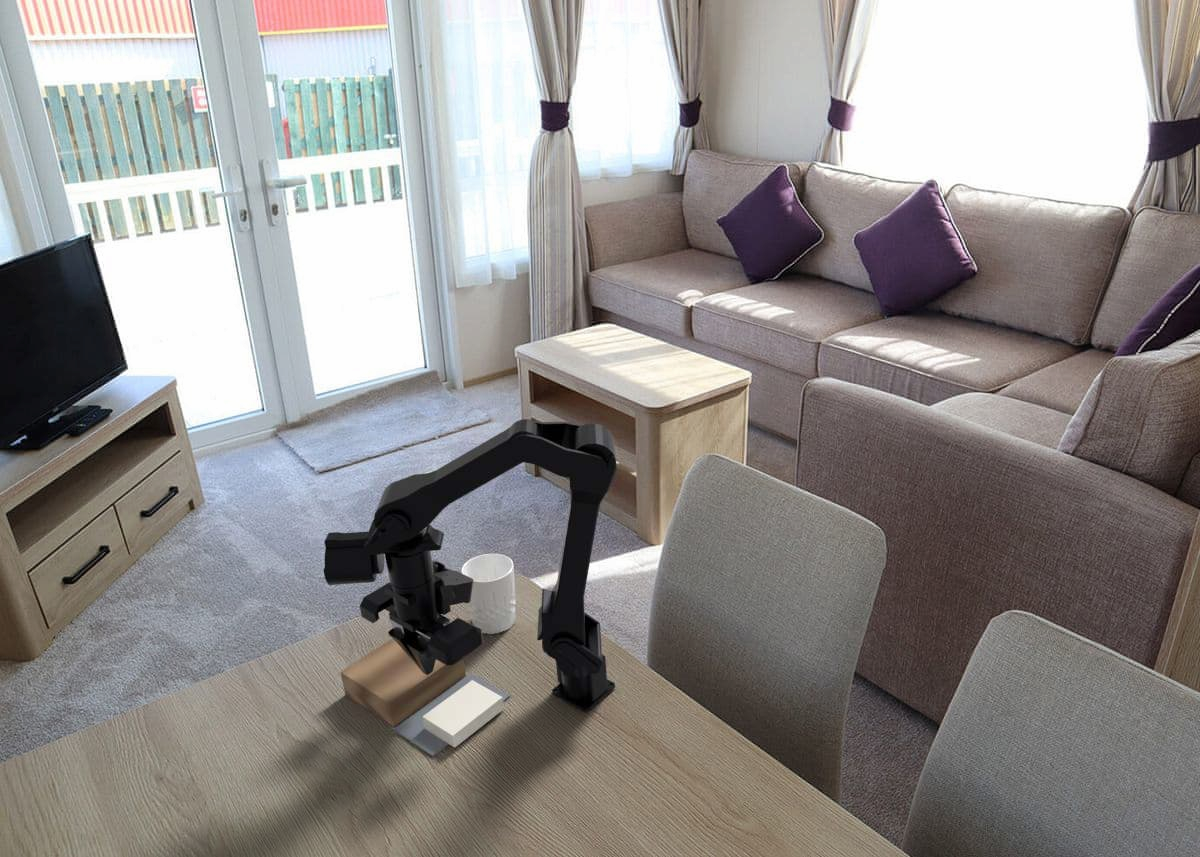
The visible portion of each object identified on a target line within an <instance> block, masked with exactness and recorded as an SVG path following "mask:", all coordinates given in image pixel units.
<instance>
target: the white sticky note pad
mask: <svg viewBox="0 0 1200 857" xmlns="http://www.w3.org/2000/svg"><path fill="white" fill-rule="evenodd" d="M504 709H505V705H504V702H503V697H501V696H500V695H498V694H496V693H494V692H493V691H491V690H489V689H487V688H486V687H484V686H482V685H480V684H478V683H477V682H475V681H473V680H472V681H470V682H469V683H467V684H466V685H465V686H463V687H462V688H461V689H459V690H458V691H457V692H455V693H454V694H452V695H451V696H450V697H448V698H447V699H446V700H444V701H443V702H442V703H440V704H439V705H437V706H436V707H435V708H433V709H432V710H431V711H429V712H428V713H427V714H425V715H424V716H422V717H423V723H424V728H425V729H426V730H428V731H429V732H431V733H433V734H434V735H436V736H437V737H439V738H440V739H442V740H443V741H445V742H447V743H448V744H449V745H450V746H451V747H452V748H456V747H458V746H459V745H460V744H461V743H463V742H464V741H465V740H466V739H467V738H469V737H470V736H471V735H473V734H474V733H475V732H476V731H479V729H481V728H482V727H483V726H485V724H486V723H488V722H489V721H490V720H492V719H493V718H495V717H496V716H497V715H498V714H499V713H501V712H502V711H503V710H504Z"/></svg>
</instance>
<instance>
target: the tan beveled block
mask: <svg viewBox="0 0 1200 857" xmlns="http://www.w3.org/2000/svg"><path fill="white" fill-rule="evenodd" d="M464 660H465V659H464V658H462V659H461V660H459V661H458V662H457V663H455V664H454V665H445V664H443V663H442V662H440V661H438V660H436V661H435V665H434V669H433V672H431V673H430V674H429V675H426V674H424V673H423V672H422V671H421V670H420V669H419V667H418V666H417V665H416V664H415V663H414V661H413V660H412V659H411V658H410V657H409V656H408V655H407V653H406V652H405V651H404V650H403V649H402V648H401V647H400V646H399V644H398V643H397V642H396V641H395V640H394V639H393V638H391V639H390V640H388V641H386V642H385V643H383V644H382V645H380V646H378V647H377V648H375V649H374V650H372V651H370V652H369V653H367V654H366V655H364V656H363V657H361V658H360V659H358V660H357V661H355V662H353V663H352V664H350V665H349V666H347V667H345V668H344V669H342V670H341V671H340V676H341V681H342V685H343V690H344V695H345V696H347V697H349V698H350V699H351V700H353V701H355V702H356V703H357V704H359V705H361V706H362V707H363V708H365V709H367V710H368V711H370V712H371V713H372V714H374V715H376V716H377V717H378V718H380V719H381V720H383V721H385V722H386V723H387V724H389V725H391V726H392V727H393V728H395V727H397V726H398V725H399V724H401V723H402V722H404V721H405V720H406V719H408V718H409V717H411V716H412V715H413V714H415V713H416V712H418V711H419V710H420V709H422V708H423V707H424V706H426V705H427V704H429V703H430V702H431V701H433V700H434V699H436V698H437V697H438V696H440V695H441V694H442V693H444V692H445V691H447V690H448V689H449V688H451V687H452V686H454V685H455V684H456V683H458V682H459V681H460V680H462V679H463V678H465V677H466V676H467V674H466V666H465V661H464Z"/></svg>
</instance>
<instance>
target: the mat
mask: <svg viewBox="0 0 1200 857" xmlns="http://www.w3.org/2000/svg"><path fill="white" fill-rule="evenodd" d="M472 680H473V681H475V682H477V683H478V684H480V685H482V686H484V687H486V688H487V689H489V690H491V691H493V692H494V693H496V694H498V695H500V696H501V697H503V703H505V702H506V701H507V700H508V699H509V698H511V695H510V694H509V693H507V692H505V691H503V690H502V689H500V688H499V687H496V686H494V685H493V684H490V683H489V682H488V681H485V680H483V679H482V678H480V677H479V676H477V675H475V674H473V673H472V672H471V673H469V674H466V676H464V677H463V678H462V679H460V680H459V681H457V682H456V683H455V684H453V685H452V686H450V687H449V688H448V689H446V690H445V691H444V692H442V693H441V694H439V695H438V696H437V697H435V698H434V699H432V700H431V701H430V702H428V703H427V704H425V705H424V706H423V707H421V708H420V709H419V710H417V711H416V712H414V713H413V714H412V715H410V716H409V717H407V718H406V719H405V720H403V721H402V722H401V723H399V724H398V725H396V726H395V727H393V731H394V732H395V733H397V734H398V735H400V736H401V737H403V738H404V739H405V740H407V741H409V742H410V743H411V744H413V745H414V746H416V747H417V748H419V749H420V750H422V751H423V752H425V753H427V754H428V755H429V756H431V757H435V756H436V755H437V754H439V753H440V752H442V750H444V749H445V748H446V747H448V746H449V745H450V744H448V743H447V742H445V741H443V740H442V739H440V738H439V737H437V736H436V735H434V734H433V733H431V732H429V731H428V730H426V729H425V728H424V723H423V717H422V716H424V715H425V714H427V713H428V712H429V711H431V710H432V709H433V708H435V707H436V706H437V705H439V704H440V703H442V702H443V701H444V700H446V699H447V698H448V697H450V696H451V695H452V694H454V693H455V692H457V691H458V690H459V689H461V688H462V687H463V686H465V685H466V684H467V683H469V682H470V681H472Z"/></svg>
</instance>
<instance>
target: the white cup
mask: <svg viewBox="0 0 1200 857" xmlns="http://www.w3.org/2000/svg"><path fill="white" fill-rule="evenodd" d="M514 569H515V568H514V562H513V560H512V559H511V558H510V557H509V556H507V555H504V554H502V553H501V554H500V553H486V554H480V555H477V556H475V557H472V558H470V559H468V560H467V561H466V562H464V564H463V565H462V567H461V573H462V574H464V575H466V576H468V577H470V578H472V579H473V580H474V581H473V587H472V594H471V601H470V602H469V603H467V606H468V609H469V613H470V617H471V622H472V623H471V624H472V625H474V626H476V627H478V628H480V629H481V631H482V634H486V633H487V635H495V633H496V634H500V632H501V633H504V632H505V631H508V630H509V629H511V628H512V626H513V625H514V624H515V623H516V617H517V614H516V586H515V584H516V583H515V570H514ZM503 631H504V632H503Z"/></svg>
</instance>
